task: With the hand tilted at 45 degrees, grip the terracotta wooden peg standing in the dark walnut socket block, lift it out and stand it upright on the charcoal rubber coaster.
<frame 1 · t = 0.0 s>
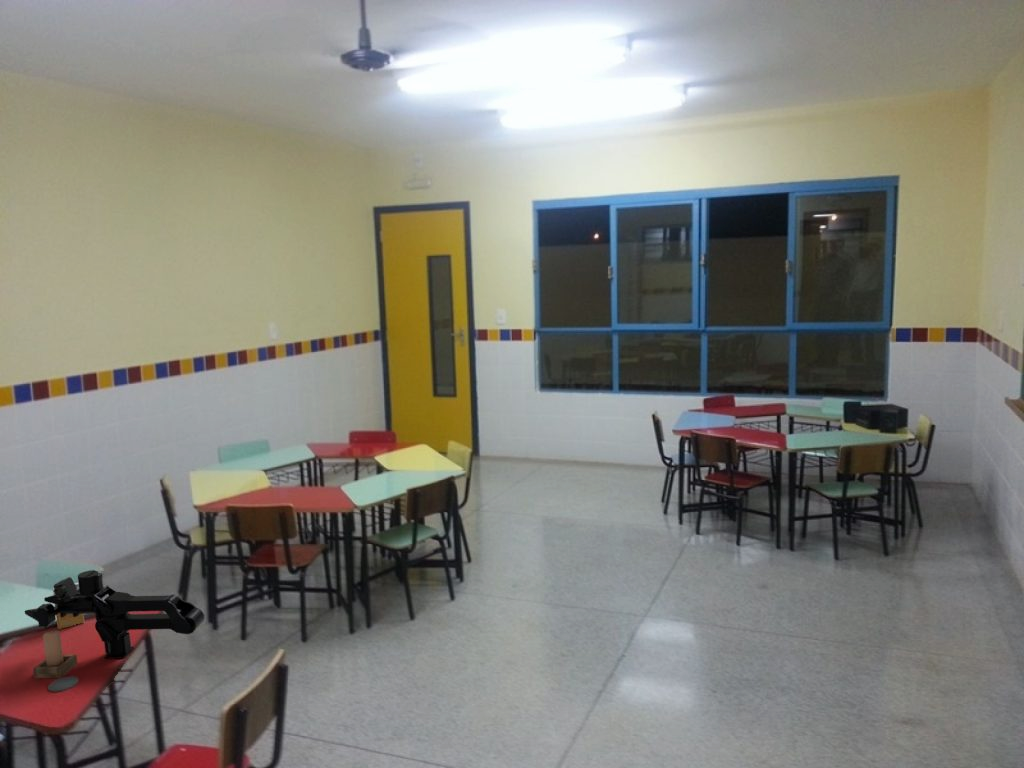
hand: (35, 605, 238), 17 cm above the table, tool horizontal, fingers open, 9 cm apart
walnut socket: (56, 670, 230), on the table
small box: (71, 623, 262), on the table
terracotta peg: (53, 652, 229), in the walnut socket
charcoal coaster: (63, 684, 221), on the table
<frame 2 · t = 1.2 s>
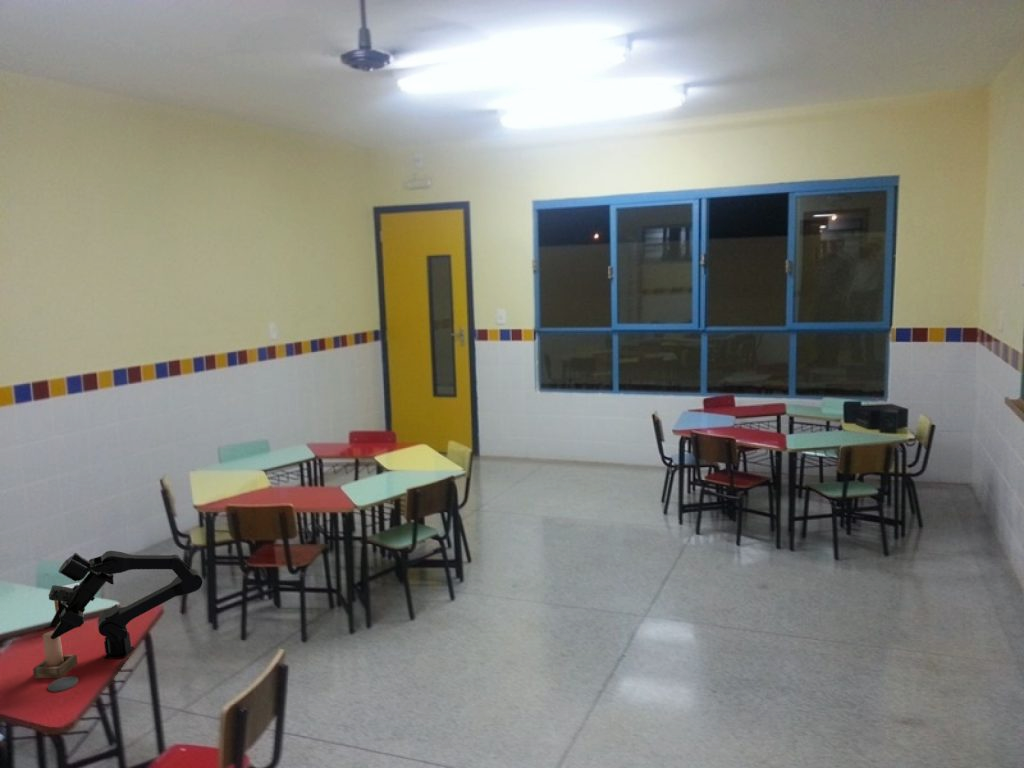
hand: (51, 632, 228), 12 cm above the table, tool tilted 45°, fingers open, 9 cm apart
nothing on the table moved.
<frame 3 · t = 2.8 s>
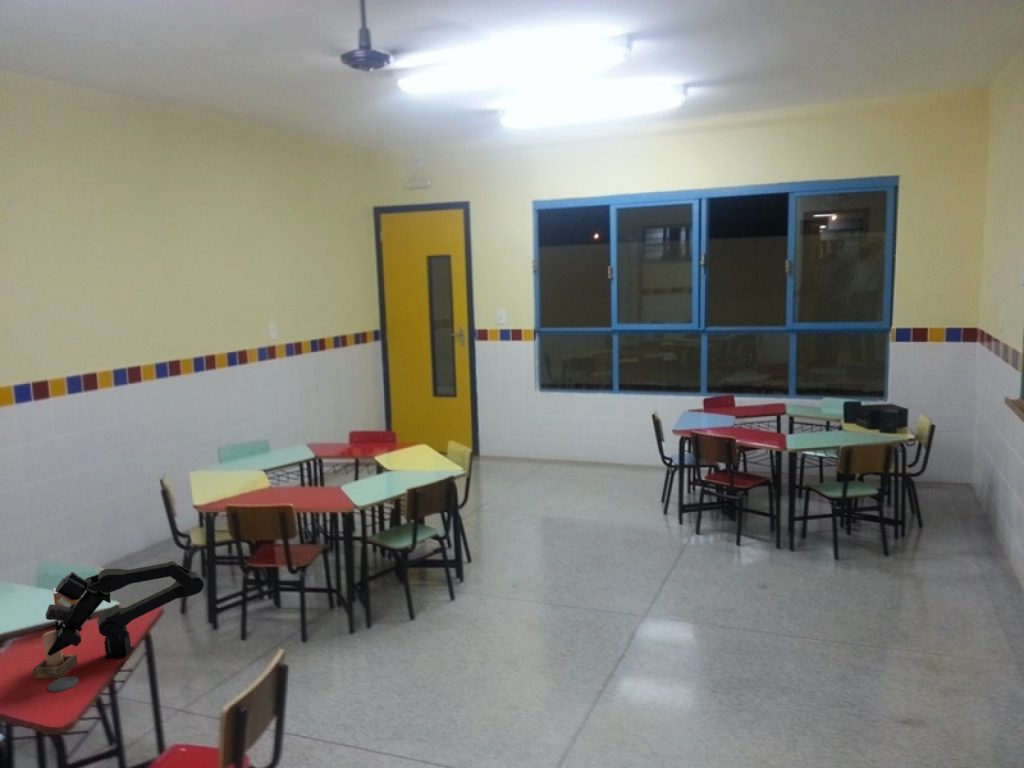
hand: (48, 651, 228), 7 cm above the table, tool tilted 45°, fingers closed on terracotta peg, 4 cm apart
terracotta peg: (53, 652, 229), in the walnut socket, touching gripper
everything else where it was.
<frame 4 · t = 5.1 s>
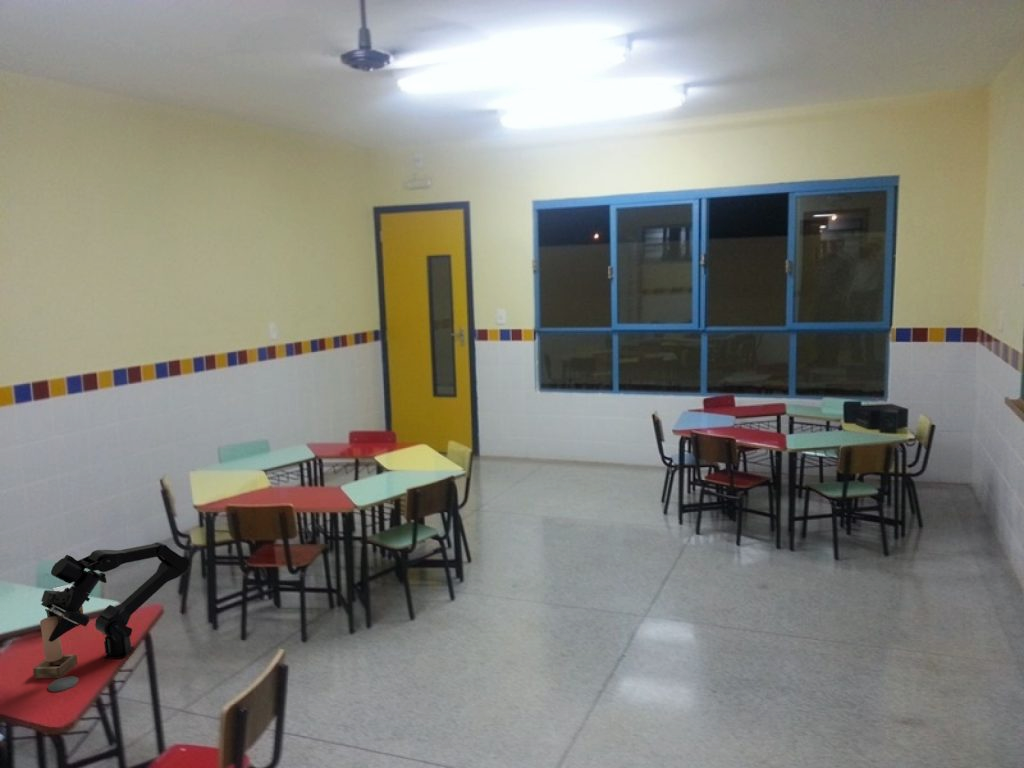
hand: (46, 639, 221), 14 cm above the table, tool tilted 45°, fingers closed on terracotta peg, 4 cm apart
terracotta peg: (51, 639, 222), point 13 cm above the table, touching gripper
everything else where it was.
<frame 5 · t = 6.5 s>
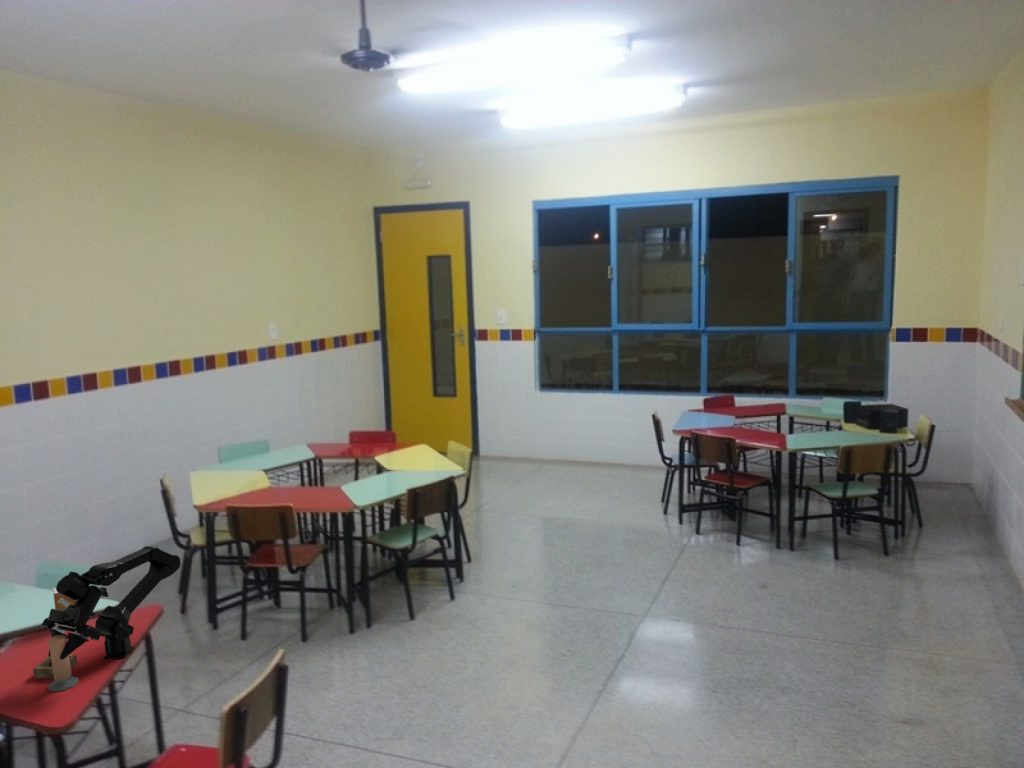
hand: (55, 657, 219), 9 cm above the table, tool tilted 45°, fingers closed on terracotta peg, 4 cm apart
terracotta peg: (60, 657, 220), point 8 cm above the table, touching gripper
everything else where it was.
when the fingers open (8 cm above the table, at t = 7.6 s): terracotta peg stays where it is, resting on charcoal coaster.
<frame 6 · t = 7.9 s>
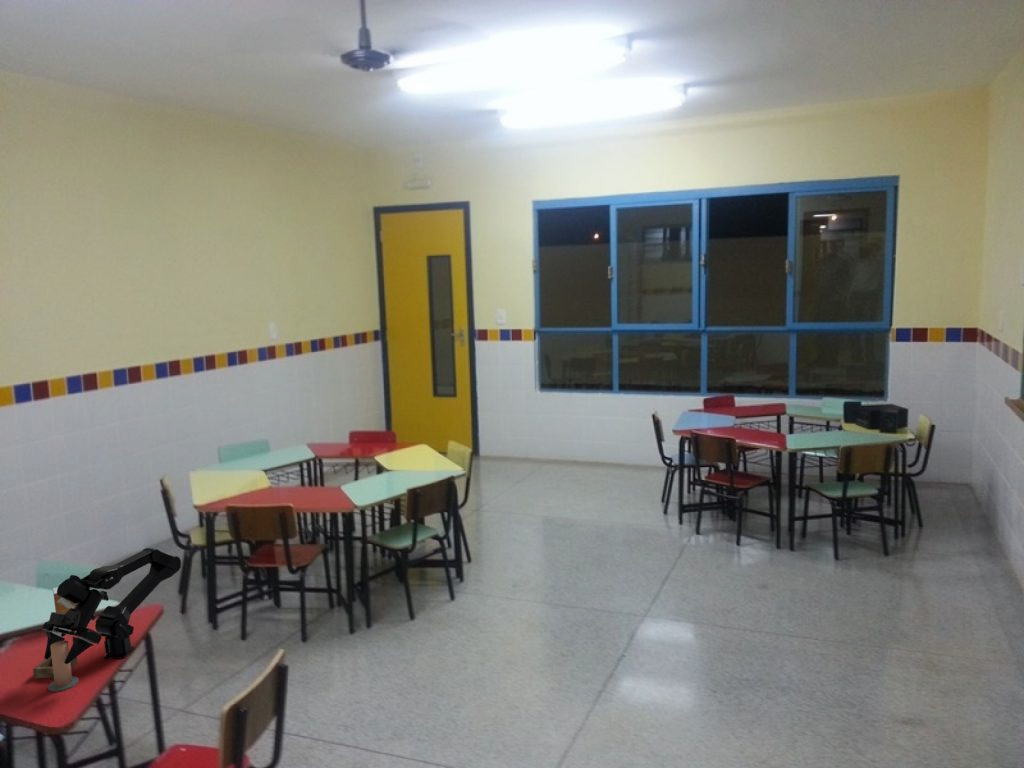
hand: (55, 661, 219), 8 cm above the table, tool tilted 45°, fingers open, 8 cm apart
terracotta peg: (61, 663, 220), on the charcoal coaster
everything else where it was.
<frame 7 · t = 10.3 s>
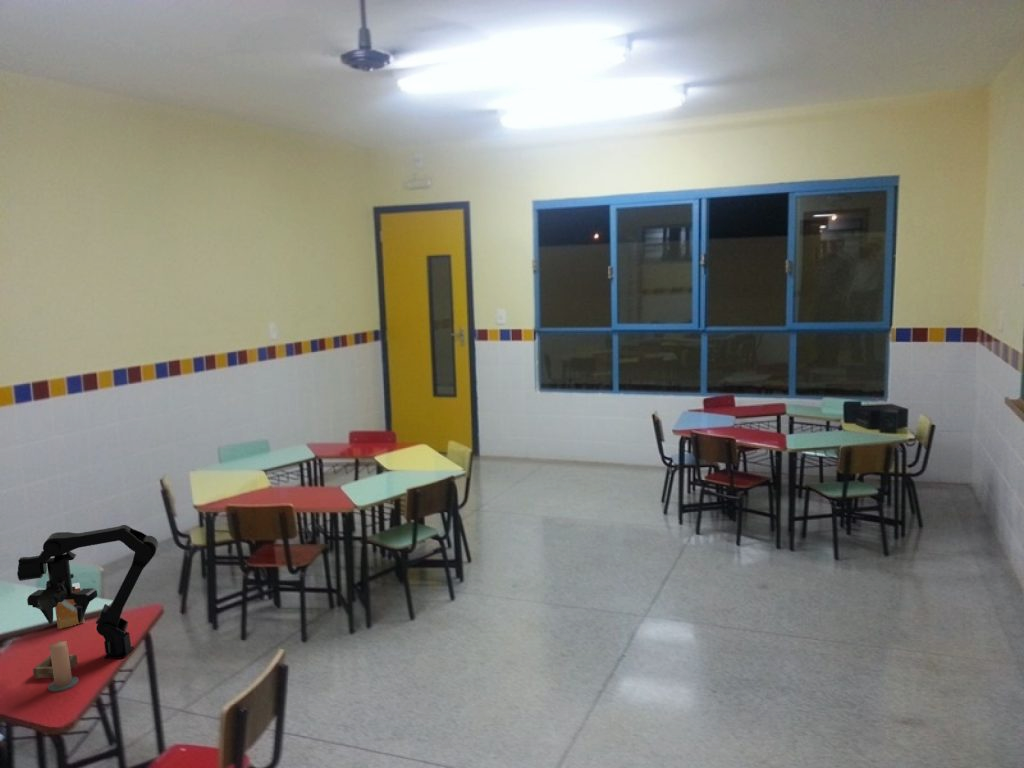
hand: (65, 622, 232), 13 cm above the table, tool pointing down, fingers open, 9 cm apart
nothing on the table moved.
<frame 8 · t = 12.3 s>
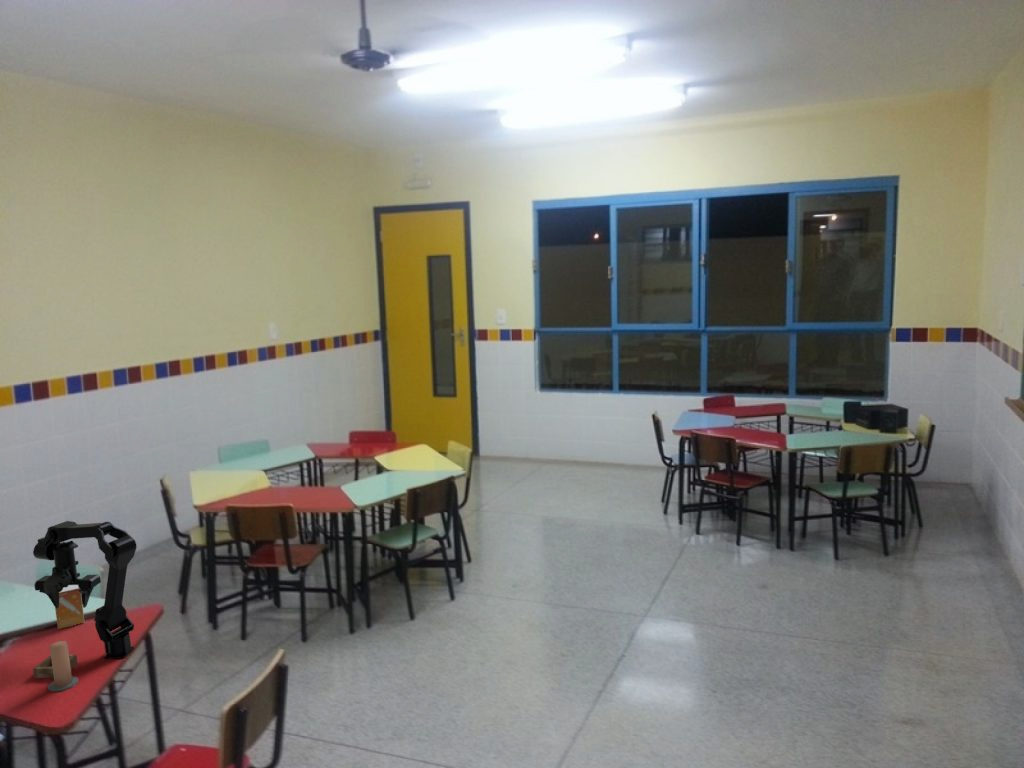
hand: (71, 607, 244), 13 cm above the table, tool pointing down, fingers open, 9 cm apart
nothing on the table moved.
at the end: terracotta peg 0.0 cm from the target spot, point 6.5 cm above the table; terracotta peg tilted 0°; the gripper is holding nothing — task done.
